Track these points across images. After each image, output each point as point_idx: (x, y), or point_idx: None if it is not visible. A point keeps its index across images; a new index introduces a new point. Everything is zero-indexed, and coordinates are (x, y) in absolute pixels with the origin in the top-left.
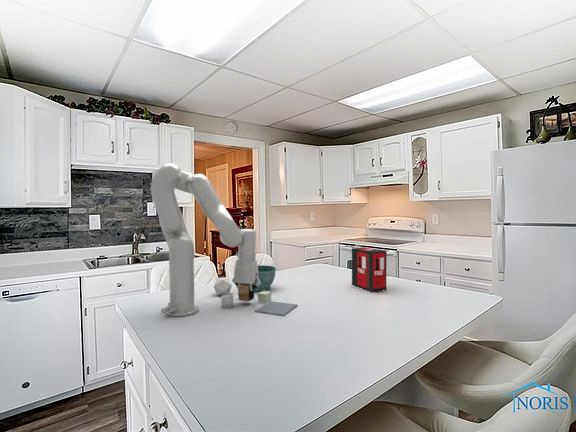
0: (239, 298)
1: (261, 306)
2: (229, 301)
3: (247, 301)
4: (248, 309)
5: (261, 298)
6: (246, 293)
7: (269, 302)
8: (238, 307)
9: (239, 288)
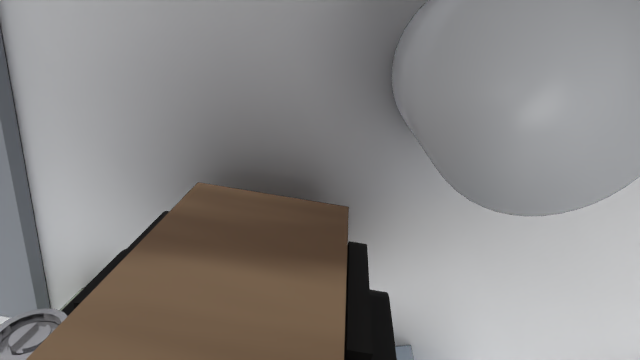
0: (339, 218)
1: (1, 124)
2: (446, 2)
3: (204, 184)
4: (130, 16)
5: None
6: (172, 254)
7: (19, 282)
8: (303, 66)
9: (336, 350)
